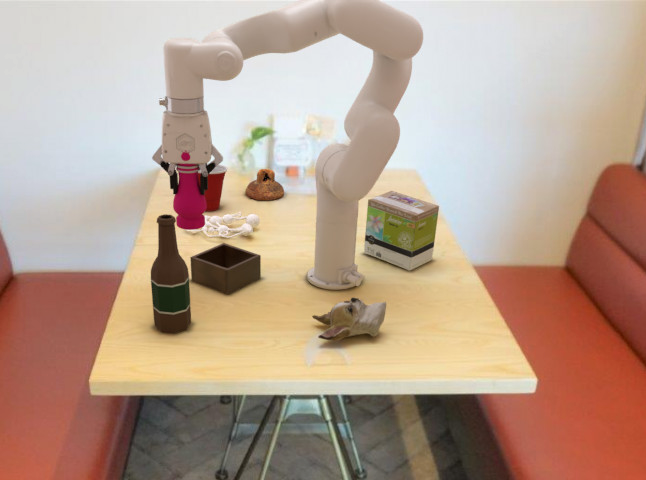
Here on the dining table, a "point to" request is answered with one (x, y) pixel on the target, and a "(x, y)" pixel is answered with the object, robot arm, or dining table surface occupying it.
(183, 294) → the beer bottle
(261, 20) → the robot arm
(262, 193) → the bell
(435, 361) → the dining table surface
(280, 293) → the dining table surface
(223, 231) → the tangled rod sculpture
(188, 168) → the pepper mill
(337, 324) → the ceramic sculpture
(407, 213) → the tea box
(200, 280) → the box
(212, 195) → the plastic cup
